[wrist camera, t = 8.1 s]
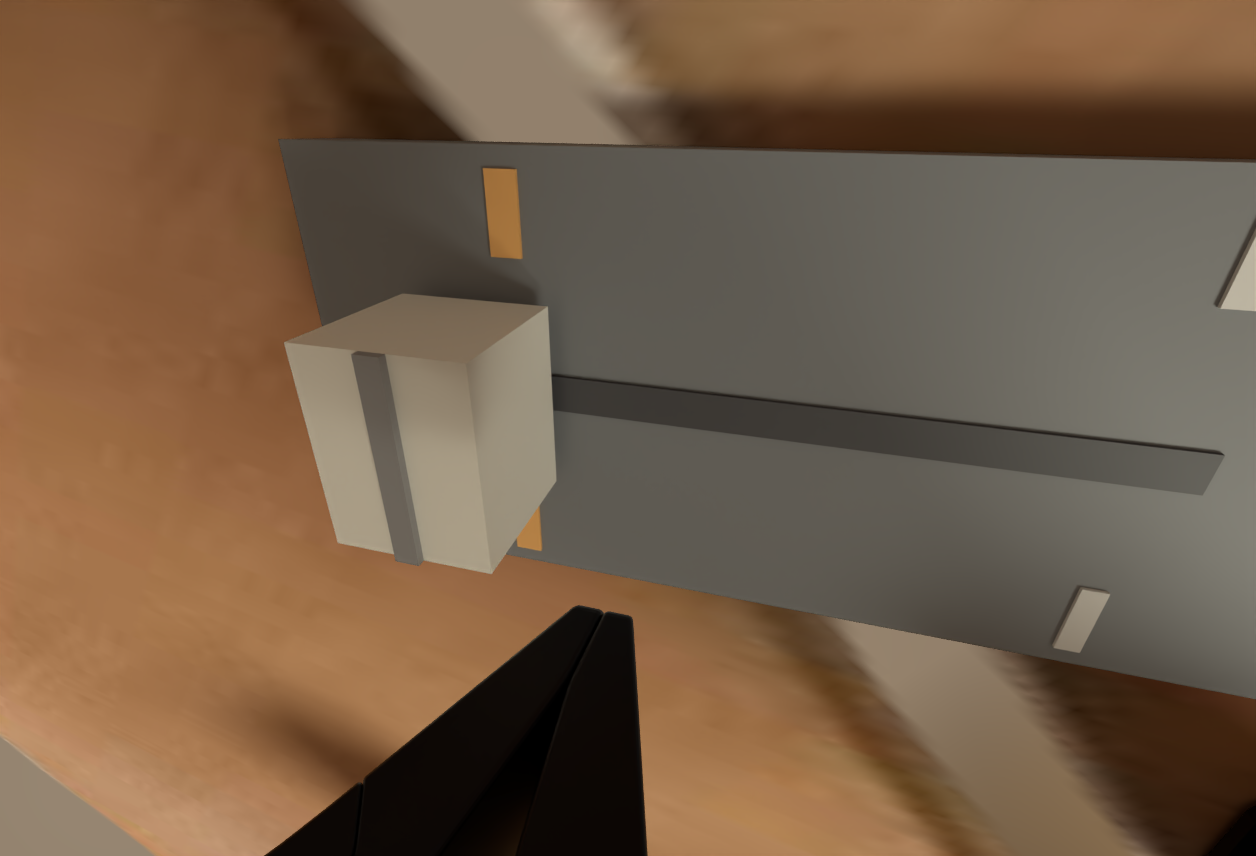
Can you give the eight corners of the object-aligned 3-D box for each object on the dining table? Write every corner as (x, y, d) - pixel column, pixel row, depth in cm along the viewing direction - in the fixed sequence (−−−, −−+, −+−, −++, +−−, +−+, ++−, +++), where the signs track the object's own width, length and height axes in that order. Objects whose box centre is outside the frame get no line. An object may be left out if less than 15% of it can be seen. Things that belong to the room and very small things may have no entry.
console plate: (1235, 643, 16) (1291, 709, 14) (403, 496, 22) (367, 529, 20) (1564, 167, 10) (1724, 173, 9) (333, 137, 16) (275, 139, 14)
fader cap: (556, 480, 16) (487, 579, 13) (429, 460, 17) (332, 548, 14) (548, 306, 14) (460, 367, 10) (402, 293, 15) (275, 345, 11)
